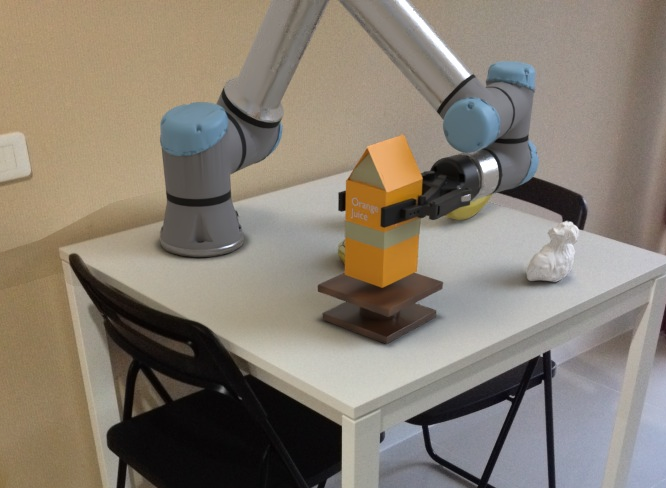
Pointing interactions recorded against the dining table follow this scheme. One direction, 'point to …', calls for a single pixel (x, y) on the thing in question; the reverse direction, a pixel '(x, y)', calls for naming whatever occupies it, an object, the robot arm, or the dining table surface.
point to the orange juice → (365, 214)
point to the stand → (380, 305)
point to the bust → (555, 254)
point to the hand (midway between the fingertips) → (361, 209)
